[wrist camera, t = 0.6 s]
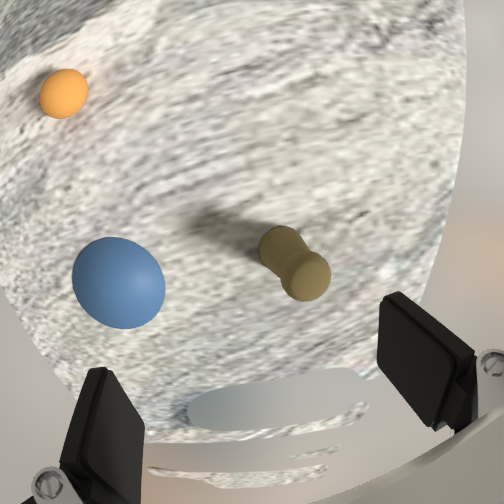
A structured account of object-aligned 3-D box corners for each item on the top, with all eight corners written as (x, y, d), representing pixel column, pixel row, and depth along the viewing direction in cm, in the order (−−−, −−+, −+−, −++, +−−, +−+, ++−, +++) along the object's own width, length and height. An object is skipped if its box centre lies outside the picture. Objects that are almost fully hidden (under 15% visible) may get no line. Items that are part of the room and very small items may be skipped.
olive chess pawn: (261, 274, 40) (284, 316, 29) (255, 230, 38) (279, 259, 27) (304, 266, 40) (339, 303, 30) (302, 222, 38) (339, 248, 28)
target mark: (60, 250, 34) (60, 251, 33) (149, 226, 35) (149, 227, 35) (93, 334, 38) (93, 335, 38) (176, 318, 39) (176, 319, 39)
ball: (51, 85, 27) (29, 76, 21) (92, 68, 27) (75, 55, 22) (55, 127, 29) (33, 124, 23) (97, 111, 29) (80, 104, 24)
